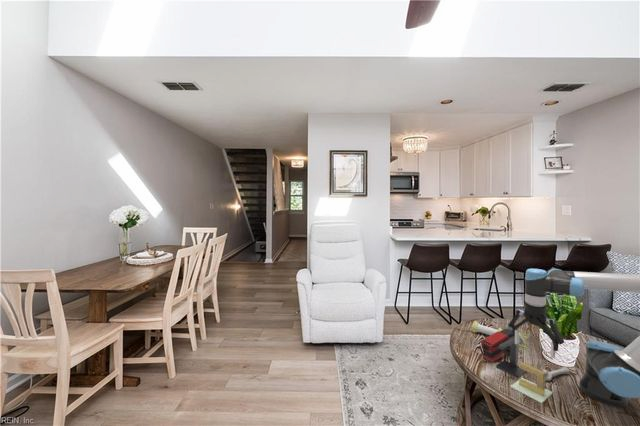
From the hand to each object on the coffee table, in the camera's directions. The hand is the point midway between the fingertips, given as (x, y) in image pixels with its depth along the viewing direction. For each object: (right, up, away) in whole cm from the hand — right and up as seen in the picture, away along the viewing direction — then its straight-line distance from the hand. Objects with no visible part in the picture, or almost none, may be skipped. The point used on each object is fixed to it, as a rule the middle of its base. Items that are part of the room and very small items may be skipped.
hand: (534, 350), depth 124 cm
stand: (-3, -18, +14) cm, 23 cm away
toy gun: (+3, -18, +28) cm, 33 cm away
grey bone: (+19, -19, +11) cm, 29 cm away
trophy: (+14, -17, +46) cm, 52 cm away
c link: (0, -18, +1) cm, 18 cm away
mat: (0, -19, +1) cm, 19 cm away
